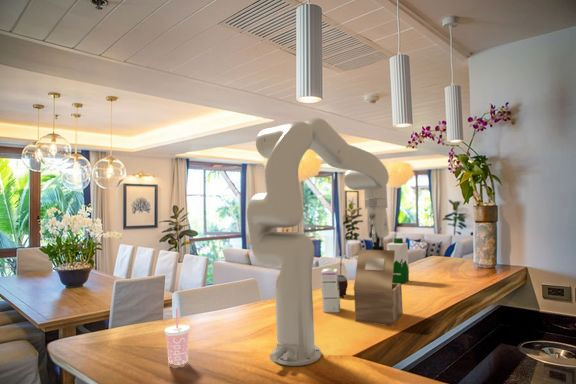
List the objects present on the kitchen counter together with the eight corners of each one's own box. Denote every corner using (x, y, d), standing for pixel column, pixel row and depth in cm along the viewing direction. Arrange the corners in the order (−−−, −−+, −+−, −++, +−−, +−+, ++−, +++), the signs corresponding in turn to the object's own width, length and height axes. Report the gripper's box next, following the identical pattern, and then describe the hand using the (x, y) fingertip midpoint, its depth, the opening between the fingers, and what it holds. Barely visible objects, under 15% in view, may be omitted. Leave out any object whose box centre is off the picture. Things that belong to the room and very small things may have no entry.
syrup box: (339, 312, 133) (337, 271, 133) (322, 312, 134) (320, 271, 134) (340, 308, 138) (338, 268, 139) (324, 307, 139) (322, 268, 140)
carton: (393, 325, 117) (391, 293, 117) (355, 321, 122) (354, 290, 123) (402, 313, 129) (401, 283, 129) (368, 309, 135) (366, 281, 135)
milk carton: (411, 280, 179) (409, 238, 179) (405, 284, 171) (402, 240, 172) (393, 279, 184) (391, 237, 184) (386, 282, 176) (384, 239, 177)
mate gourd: (335, 298, 152) (333, 261, 152) (327, 294, 159) (325, 258, 160) (352, 296, 154) (350, 259, 155) (343, 292, 162) (341, 257, 162)
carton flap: (391, 293, 117) (390, 292, 116) (354, 290, 123) (353, 289, 122) (394, 251, 124) (394, 250, 123) (359, 250, 129) (358, 249, 129)
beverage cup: (162, 370, 92) (160, 312, 92) (170, 360, 98) (168, 305, 98) (187, 369, 92) (185, 311, 92) (193, 359, 98) (191, 304, 98)
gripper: (381, 204, 120) (384, 262, 120) (392, 203, 133) (395, 255, 133) (358, 205, 124) (361, 261, 124) (371, 203, 137) (374, 254, 137)
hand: (378, 258), depth 128 cm, fingers closed
